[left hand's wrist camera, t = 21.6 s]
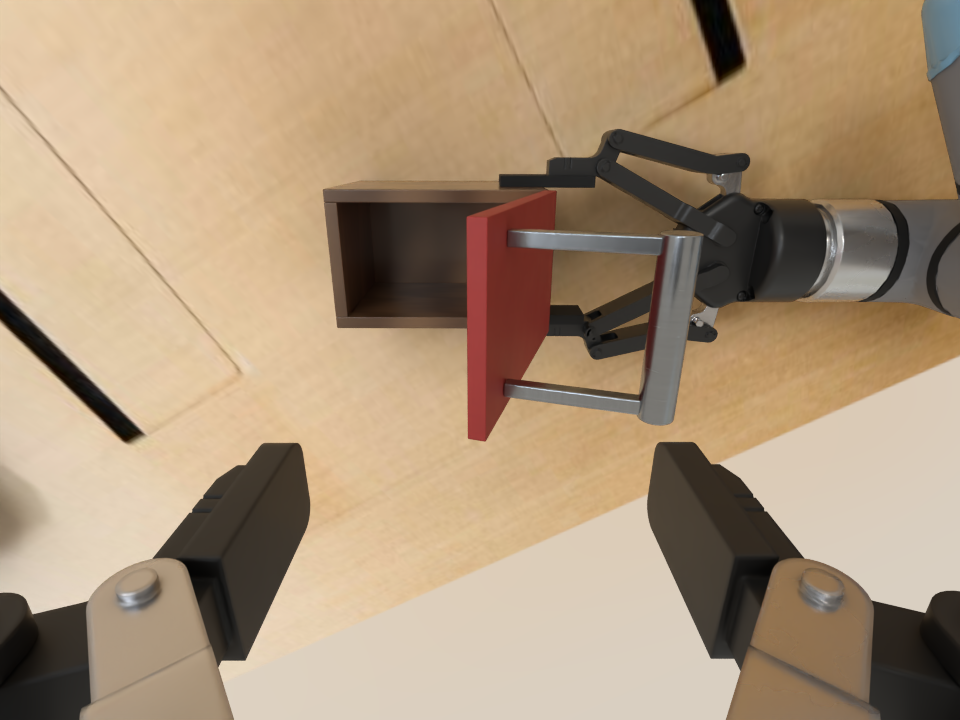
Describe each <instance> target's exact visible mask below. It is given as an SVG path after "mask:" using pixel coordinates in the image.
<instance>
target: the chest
mask: <svg viewBox="0 0 960 720" xmlns="http://www.w3.org/2000/svg"><path fill="white" fill-rule="evenodd" d="M544 190H547V189H545V188H543V187H500V185H499V181H358V182H354V183H349V184H345V185H340V186H336V187H331V188H327V189H323V196H324V202H325V203H324V207H325V216H326V225H327V235H328V244H329V254H330V263H331V273H332V282H333V292H334V301H335V311H336V320H337V328H467V216H470V215H473V214H476V213H479V212H482V211H485V210H488V209H491V208H494V207H497V206H500V205H503V204H506V203H509V202H512V201H515V200H517V199H520V198H523V197H526V196H529V195H532V194H535V193H538V192H541V191H544Z"/></svg>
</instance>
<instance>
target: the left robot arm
mask: <svg viewBox="0 0 960 720" xmlns="http://www.w3.org/2000/svg"><path fill="white" fill-rule="evenodd" d="M647 510H648V518H649V523H650V526H651V529H652V531H653V533H654V535H655V537H656V540H657V542H658V544H659V546H660V548H661V551H662V553H663V555H664V557H665V559H666V562H667V564H668V566H669V568H670V570H671V572H672V575H673V577H674V579H675V581H676V583H677V586H678V588H679V590H680V592H681V594H682V596H683V599H684V601H685V603H686V605H687V607H688V610H689V612H690V614H691V616H692V618H693V621H694V623H695V625H696V627H697V629H698V631H699V634H700V636H701V638H702V640H703V642H704V645H705V647H706V649H707V651H708V653H709V656H710V658H711V659H735V661H736V663H737V665H738V667H739V669H740V671H741V672H740V675H739V679H738V682H737V685H736V688H735V692H734V695H733V698H732V702H731V705H730V708H729V711H728V715H727V718H726V720H960V591H944V592H940V593H937V594H935V595H934V596H933V597H932V599H931V602H930V604H929V606H928V608H927V611H926V613H922V612H918V611H914V610H910V609H905V608H901V607H897V606H893V605H888V604H884V603H880V602H876V601H872V600H871V599H870V597H869V596H868V594H867V593H866V592H865V590H864V589H863V588H862V587H861V586H860V585H859V584H858V583H857V582H855V581H854V580H853V579H852V578H850V577H849V576H847V575H846V574H844V573H843V572H841V571H839V570H837V569H835V568H833V567H831V566H829V565H826V564H824V563H821V562H818V561H814V560H810V559H804V557H803V556H802V555H801V554H800V552H799V551H798V550H797V549H796V547H795V546H794V545H793V544H792V542H791V541H790V540H789V539H788V537H787V536H786V535H785V534H784V532H783V531H782V530H781V529H780V527H779V526H778V525H777V524H776V522H775V521H774V520H773V519H772V517H771V516H770V515H769V514H768V512H765V511H764V507H763V506H762V505H761V504H760V502H759V501H758V500H757V499H756V498H754V497H753V494H752V493H751V491H750V490H749V489H748V487H747V486H746V485H745V484H744V482H743V481H742V480H741V479H740V478H739V477H737V476H736V475H735V474H733V473H732V472H730V471H729V470H727V469H726V468H724V467H723V466H721V465H720V464H710V462H709V461H708V459H707V458H706V457H705V455H704V454H703V453H702V451H701V450H700V449H699V447H698V446H697V445H696V444H695V443H693V442H659V443H658V444H657V446H656V448H655V453H654V459H653V466H652V473H651V479H650V486H649V493H648V500H647ZM309 516H310V497H309V491H308V484H307V478H306V471H305V464H304V458H303V452H302V448H301V446H300V445H299V444H298V443H263V444H262V445H261V446H260V447H259V448H258V450H257V451H256V452H255V454H254V455H253V456H252V458H251V459H250V460H249V462H248V463H247V464H246V465H237V466H236V467H234V468H233V469H231V470H230V471H228V472H227V473H225V474H224V475H222V476H221V477H219V478H218V479H216V481H215V482H214V483H213V484H212V486H211V487H210V488H209V489H208V491H207V492H206V493H205V494H204V496H203V499H200V501H199V502H198V503H197V504H196V505H195V507H194V508H193V509H192V513H189V514H188V515H187V517H186V518H185V519H184V520H183V522H182V523H181V524H180V525H179V526H178V528H177V529H176V530H175V531H174V533H173V534H172V535H171V536H170V538H169V539H168V540H167V541H166V543H165V544H164V545H163V546H162V548H161V549H160V550H159V551H158V552H157V554H156V555H155V556H154V557H153V559H150V560H146V561H142V562H139V563H136V564H134V565H131V566H129V567H127V568H125V569H123V570H121V571H119V572H117V573H116V574H114V575H113V576H111V577H110V578H108V579H107V580H106V581H105V582H103V583H102V584H101V585H100V586H99V587H98V588H97V589H96V590H95V592H94V593H93V594H92V596H91V597H90V599H89V601H87V602H83V603H79V604H75V605H71V606H67V607H62V608H58V609H54V610H50V611H45V612H41V613H37V614H33V615H32V612H31V610H30V608H29V606H28V603H27V601H26V599H25V598H24V597H23V596H21V595H19V594H15V593H0V720H234V718H233V715H232V711H231V708H230V705H229V702H228V698H227V695H226V692H225V689H224V685H223V682H222V679H221V675H220V672H219V669H218V667H219V665H220V663H221V661H245V660H246V658H247V656H248V654H249V652H250V650H251V647H252V645H253V643H254V641H255V639H256V637H257V634H258V632H259V630H260V628H261V626H262V624H263V621H264V619H265V617H266V615H267V613H268V611H269V608H270V606H271V604H272V602H273V600H274V598H275V596H276V593H277V591H278V589H279V587H280V585H281V583H282V580H283V578H284V576H285V574H286V572H287V570H288V567H289V565H290V563H291V561H292V559H293V557H294V554H295V552H296V550H297V548H298V546H299V544H300V541H301V539H302V537H303V535H304V533H305V531H306V528H307V525H308V521H309Z"/></svg>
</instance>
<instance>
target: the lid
mask: <svg viewBox="0 0 960 720" xmlns="http://www.w3.org/2000/svg"><path fill="white" fill-rule="evenodd" d="M556 193H557V191H550V190H544V191H541V192H538V193H535V194H532V195H529V196H526V197H523V198H520V199H517V200H515V201H512V202H509V203H506V204H503V205H500V206H497V207H494V208H491V209H488V210H485V211H482V212H479V213H476V214H473V215H470V216H467V365H468V439H473V440H479V441H486V440H487V438H488V436H489V435H490V433H491V431H492V429H493V428H494V426H495V424H496V422H497V421H498V419H499V417H500V415H501V414H502V412H503V410H504V408H505V407H506V405H507V403H508V401H509V400H510V398H518V399H526V400H533V401H540V402H548V403H555V404H562V405H570V406H577V407H584V408H592V409H599V410H606V411H614V412H621V413H628V414H636V415H637V417H638V418H639V419H640V420H641V421H643V422H645V423H648V424H652V425H668V424H670V423H672V422H673V420H674V415H675V409H676V403H677V397H678V391H679V385H680V378H681V372H682V366H683V360H684V354H685V348H686V342H687V336H688V330H689V324H690V317H691V311H692V305H693V299H694V293H695V287H696V281H697V275H698V269H699V262H700V256H701V250H702V244H703V238H704V235H703V234H702V233H699V232H694V231H684V230H667V231H662V232H661V233H660V235H653V234H630V233H608V232H585V231H562V230H554V228H555V210H556ZM553 250H568V251H587V252H605V253H623V254H642V255H657V261H656V268H655V276H654V284H653V291H652V299H651V306H650V314H649V321H648V329H647V336H646V344H645V352H644V359H643V367H642V374H641V382H640V389H639V395H635V394H627V393H619V392H611V391H604V390H596V389H588V388H580V387H572V386H564V385H556V384H548V383H540V382H532V381H524V380H521V379H522V377H523V375H524V373H525V372H526V370H527V368H528V366H529V365H530V363H531V361H532V359H533V358H534V356H535V354H536V352H537V351H538V349H539V347H540V345H541V344H542V342H543V340H544V338H545V337H546V335H547V333H548V331H549V317H550V299H551V281H552V263H553Z"/></svg>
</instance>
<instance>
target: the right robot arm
mask: <svg viewBox="0 0 960 720" xmlns="http://www.w3.org/2000/svg"><path fill="white" fill-rule="evenodd" d="M921 16H922V23H923V32H924V41H925V50H926V58H927V67H928V72H927V77H928V80H929V81H931V83H932V87H933V91H934V96H935V100H936V104H937V108H938V112H939V116H940V121H941V125H942V129H943V133H944V137H945V141H946V145H947V150H948V154H949V158H950V162H951V166H952V170H953V175H954V179H955V184H956V188H957V194H958V199H957V200H889V201H883V200H858V199H815V200H811V201H808V200H804V199H750V198H748V197H746V196H745V195H743V194H741V193H740V189H741V176H742V171H744V170H746V169H747V168H748V166H749V164H750V158H749V156H748V155H747V154H745V153H723V154H714V155H712V154H708V153H704V152H701V151H697V150H694V149H690V148H686V147H683V146H679V145H676V144H672V143H668V142H665V141H661V140H658V139H654V138H651V137H647V136H643V135H640V134H636V133H633V132H629V131H625V130H622V129H616V130H610V131H607V132H605V133H604V134H603V136H602V139H601V144H600V146H599V148H598V151H597V152H596V153H595V155H593V156H592V157H588V158H552V159H549V160H547V172H546V174H499V185H500V187H555V188H595V177H596V176H597V177H599V178H601V179H602V180H604V181H606V182H608V183H609V184H611V185H613V186H614V187H616V188H618V189H620V190H621V191H623V192H625V193H627V194H628V195H630V196H632V197H633V198H635V199H637V200H639V201H640V202H642V203H644V204H645V205H647V206H649V207H651V208H652V209H654V210H656V211H658V212H659V213H661V214H663V215H664V216H665V217H667V218H669V219H670V220H672V221H674V222H676V223H677V224H678V225H677V227H676V228H673V230H684V231H694V232H699V233H702V234H703V235H704V238H703V244H702V250H701V256H700V262H699V269H698V275H697V281H696V287H695V293H694V297H696V298H697V299H698V300H699V301H701V302H702V304H701V306H700V307H699V308H698V309H696V310H692V311H691V317H690V324H689V330H688V336H687V340H689V341H699V342H712V341H714V340H715V339H716V337H717V334H718V333H717V330H715V329H714V328H713V325H714V322H715V319H716V315H717V312H718V309H719V308H721V307H723V306H725V305H727V304H730V303H733V302H792V301H795V300H797V301H799V302H903V303H911V304H917V305H921V306H923V307H926V308H929V309H932V310H935V311H938V312H941V313H943V314H946V315H949V316H952V317H957V318H960V0H925V1H924V3H923V7H922V14H921ZM620 152H621V153H625V154H628V155H632V156H636V157H639V158H643V159H647V160H650V161H654V162H658V163H661V164H665V165H669V166H672V167H676V168H680V169H683V170H687V171H691V172H696V173H707V181H708V182H709V183H710V184H713V185H717V186H718V187H719V188H720V190H721V193H720V194H719V195H717V196H716V197H714V198H713V199H711V200H710V201H708V202H707V203H705V204H704V205H702V206H701V207H699V208H698V209H696V208H694V207H692V206H690V205H688V204H686V203H684V202H682V201H680V200H679V199H677V198H675V197H674V196H672V195H670V194H669V193H667V192H665V191H664V190H662V189H660V188H658V187H657V186H655V185H653V184H652V183H650V182H648V181H647V180H645V179H643V178H642V177H640V176H638V175H636V174H635V173H633V172H631V171H630V170H628V169H626V168H625V167H623V166H621V165H619V164H618V163H616V160H617V158H618V155H619V153H620ZM653 284H654V281H653V282H651V283H649V284H646V285H644V286H642V287H640V288H638V289H636V290H634V291H632V292H630V293H628V294H625V295H623V296H621V297H619V298H617V299H615V300H613V301H611V302H609V303H607V304H605V305H602V306H600V307H598V308H596V309H594V310H592V311H590V312H588V313H586V314H583V313H582V311H581V309H580V308H579V306H578V305H550V317H549V331H548V333H547V335H546V336H580V337H582V338H583V340H584V344H585V347H586V348H587V350H588V352H589V354H590V356H591V357H592V358H593V359H596V360H597V359H603V358H608V357H612V356H617V355H621V354H626V353H630V352H635V351H639V350H644V349H645V344H646V336H647V329H648V323H643V324H639V325H634V326H630V327H625V328H621V329H616V330H612V331H609V330H611V329H613V328H615V327H618V326H620V325H622V324H624V323H626V322H628V321H630V320H633V319H635V318H637V317H639V316H641V315H643V314H645V313H648V312H650V306H651V299H652V291H653Z"/></svg>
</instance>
